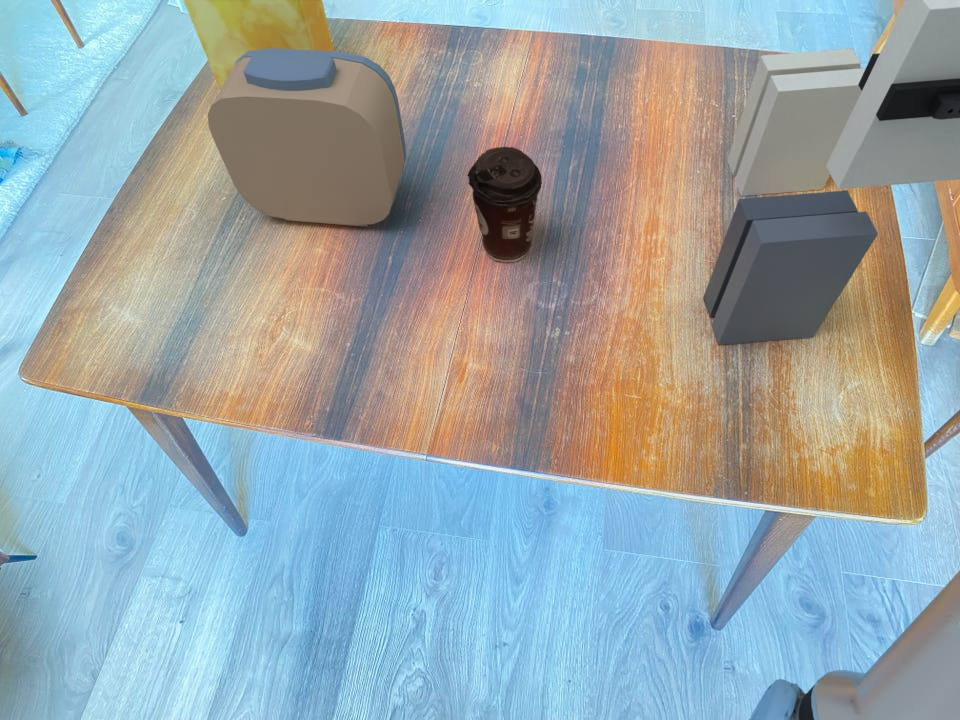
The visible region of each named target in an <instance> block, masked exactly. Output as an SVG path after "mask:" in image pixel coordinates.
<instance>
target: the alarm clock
mask: <svg viewBox="0 0 960 720" xmlns="http://www.w3.org/2000/svg"><path fill="white" fill-rule="evenodd" d="M207 123H208V129H209V131H210V134H211V137H212V139H213V142H214V144H215V146H216V149H217V150H218V153H219V155H220V158H221V159H222V162H223V163H224V166H225V168H226V171H227V172H228V174H229V177H230V180H231V183H233V185H234V187H235V189H236V191H237V192H238V193H239V195H240V196H241V197H242V198H243V200H244V201H245V202H246V203H247V204H248V205H250V206H251V207H252V208H253V209H254V210H257V211H258V212H260V213H262V214H265V215H267V216H269V217H274V218H278V219H283V220H285V221H287V222H289V221H290V222H300V223H313V224H326V225H338V226H339V225H340V226H350V227H351V226H352V227H365V228H368V226H369V225H376V224H377V223H379V222H382V221H384V220H385V219H386V218H387V217H388V216H389V214H390V212H391V208H392V206H393V203H394V199H395V197H396V193H397V190H398V186H399V183H400V180H401V177H402V173H403V171H404V168H405V163H406V159H407V146H406V140H405V133H404V127H403V122H402V115H401V110H400V104H399V97H398V95H397V91H396V87H395V85H394V82H393V81H392V79H391V78H390V76H389V73H387V72H386V70H384V68H383V67H382V66H381V65H380V64H378V63H377V62H375V61H373V60H372V59H370V58H368V57H367V56H365V55H359V54H354V53H349V52H344V51H339V50H338V51H337V50H334V51H317V50H296V49H276V48H270V49H261V50H252V51H248V52H246V53H245V54H244V55H243V56H241V57H240V58H239V59H238V60H237V62H236V63H235V65H234V67H233V69H232V70H231V72H230V74H229V75H228V77H227V79H226V81H225V82H224V84H223V86H222V88H221V89H220V88H219V92H218V93H217V95H216V96H215V98H214V100H213V102H212V104H211V105H210V108H209V110H208V112H207Z"/></svg>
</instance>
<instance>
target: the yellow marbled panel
mask: <svg viewBox="0 0 960 720" xmlns="http://www.w3.org/2000/svg"><path fill="white" fill-rule="evenodd" d="M183 3H184V6H185V8H186V10H187V13H188V15H189V17H190V20H191V22H192V24H193V27H194V30H195V32H196V34H197V37H198V39H199V42H200V44H201V46H202V49H203V51H204V54H205V56H206V58H207V61H208V64H209V66H210V69H211V71H212V73H213V75H214V78H215V81H216V84H217V85H218V88H219V90H220V89H221V88H222V86H223V84H224V82H225V81H226V79H227V77H228V75H229V74H230V72H231V70H232V69H233V67H234V65H235V63H236V62H237V60H238V59H239V58H240V57H241V56H243V55H244V54H245V53H246V52H248V51H252V50H261V49H270V48H276V49H296V50H317V51H335V49H334V44H333V40H332V36H331V32H330V28H329V27H330V26H329V23H328V20H327V15H326V10H325V7H324V3H323V0H183Z"/></svg>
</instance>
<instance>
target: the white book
mask: <svg viewBox="0 0 960 720" xmlns="http://www.w3.org/2000/svg"><path fill="white" fill-rule="evenodd" d="M879 53H880V54H879V57H878V59H877V61H876V63H875V65H874V67H873V69H872V71H871V73H870V75H869V77H868V80H867V82H866V84H865V86H864V88H863V90H862V92H861V94H860V96H859V98H858V101H857V103H856V105H855V107H854V109H853V111H852V113H851V115H850V117H849V119H848V121H847V124H846V126H845V128H844V130H843V132H842V134H841V136H840V138H839V140H838V142H837V145H836V147H835V149H834V151H833V153H832V155H831V157H830V159H829V161H828V163H827V165H826V167H827V169H828V171H829V173H830V177H831V179H832V181H833V182H834V184H835V187H836V189H837V190H848V189H859V188H860V189H861V188H872V187H884V186H895V185H896V186H897V185H908V184H921V183H932V182H945V181H956V180H957V181H959V180H960V118H954V119H943V120H940V119H933V117H922V118H910V119H897V120H885V121H879V119H878V118H877V116H876V113H877V111H878V109H879V107H880V106H881V104H882V102H883V100H884V98H885V96H886V94H887V92H888V90H889V88H890V86H891V84H897V83H909V82H921V81H934V80H946V79H958V78H960V0H904V2H903V4H902V6H901V8H900V11H899V12H898V15H897V17H896V19H895V21H894V23H893V25H892V27H891V29H890V31H889V34H888V35H887V37H886V40H885V41H884V44H883V46H882V48H881V50H880V52H879Z"/></svg>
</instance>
